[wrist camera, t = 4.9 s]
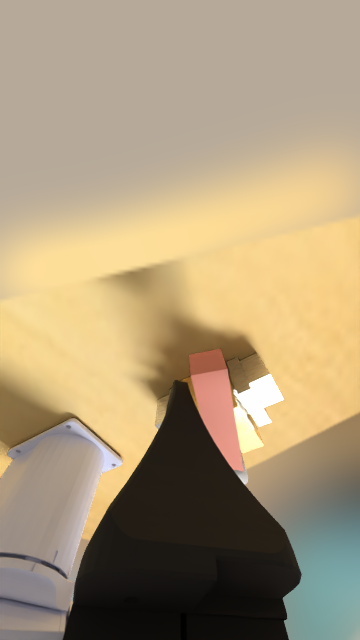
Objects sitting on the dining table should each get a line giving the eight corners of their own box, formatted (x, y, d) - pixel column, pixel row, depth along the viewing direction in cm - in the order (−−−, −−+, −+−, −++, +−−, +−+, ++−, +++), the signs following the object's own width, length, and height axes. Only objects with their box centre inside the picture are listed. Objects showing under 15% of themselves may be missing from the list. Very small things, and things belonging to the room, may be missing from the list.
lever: (242, 460, 14) (249, 487, 12) (212, 464, 14) (216, 491, 13) (224, 347, 10) (232, 368, 9) (184, 355, 10) (186, 376, 9)
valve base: (177, 422, 21) (177, 486, 16) (153, 394, 19) (144, 454, 14) (272, 381, 19) (307, 439, 14) (253, 345, 17) (284, 396, 12)
